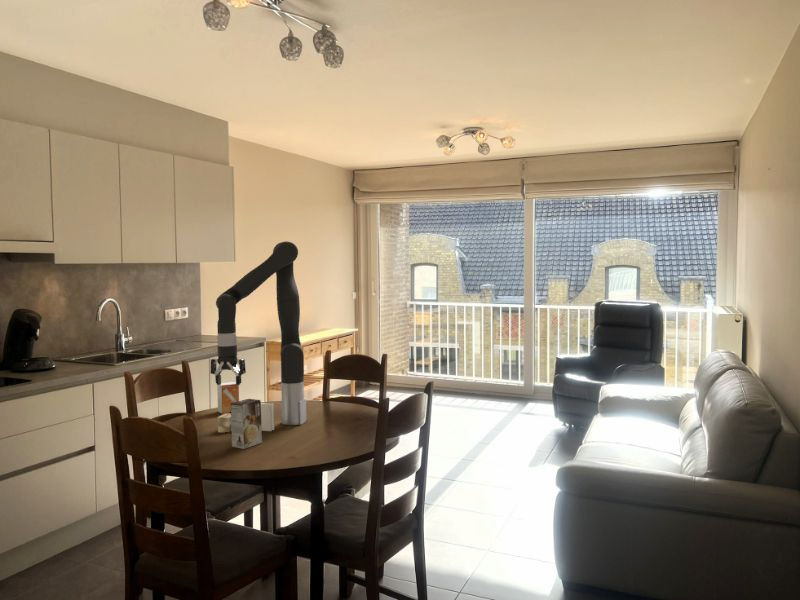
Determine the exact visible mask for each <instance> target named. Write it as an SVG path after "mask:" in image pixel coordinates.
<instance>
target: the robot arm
mask: <svg viewBox="0 0 800 600" xmlns="http://www.w3.org/2000/svg"><path fill="white" fill-rule="evenodd" d="M298 256H299V249H298V246H297V245H296V244H295V243H294V242H291V241H281V242H278V243H277V244H276V245H275V246H274V248H273V250H272V253H271V255H270V256H268V258H267V259H265V260H264V261H263V262H262V263H260V264H259V265H258V266H256V267H254V268H253V269H252V270H250V271H249V272H247V273H246V274H245V275H244V276H243V277H242V278H240V279H239V280H238V281H237V282H235V283H234V284H233V285H232V286H230V288H227V289H226V290H225V291H223V292H222V293H221V294H220V295H219V296H218V297H216V300H215V306H216V308H217V312H218V317H217V318H218V319H217V326H216V327H217V337H216V340H217V341H216V342H217V343H216V344H217V357H218V358H215V357H214V358H210V374H211V375H214V376H215V377H214V379H215V384H216V385H220V384H221V383H222V375H221V374H222V372H223V371H226V370H227V371H232V373H234V374H235V382H236V385H239V386H240V385H241V383H242V375H245V374H246V373H247V371H246V370H247V369H246V362H245V361H246V359H245V358H241V359H238V341H237V340H238V339H237V329H236V328H237V327H236V326H237V324H236V313H237V304H239V303H240V302H241V301H242V300H243V299H245V298H247V297H249V296H250V295H251V294H252V293H254V291H256V290H257V289H258V288H259V287H260V286H261V285H263V284H264V283H265V282H266V281H267V280H268V279H269V278H271V277H272V276H273V275H274V274H275V276H276V280H275V281H276V282H275V283H276V284H275V285H276V288H275V289H276V308H277V309H276V310H277V316H278V317H277V318H278V321H279V326H280V332H281V333H280V338H281V339H280V352H279V353H280V371H281V372H280V374H281V375H280V380H281V381H280V382H281V383H280V387H281V390H280V391H281V392H280V393H281V422H282V423H281V424H282V425H285V426H297V425H298V426H299V425H303V424H304V423H306V422H307V399H306V398H305V387H304V385H305V381H304V380H305V379H304V378H305V359H304V358H305V355H304V354H305V353H304V351H303V349H302V345H301V339H300V332H299V328H300V327H299V326H300V319H301V307H300V306H301V303H300V302H301V301H300V293H299V290H298V286H297V283H296V280H295V275H294V273H295V272H294V262H295V261H296V260H297V258H298ZM217 364H218V367H217Z"/></svg>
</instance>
